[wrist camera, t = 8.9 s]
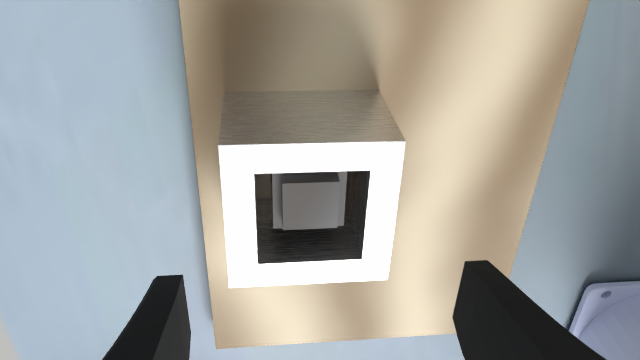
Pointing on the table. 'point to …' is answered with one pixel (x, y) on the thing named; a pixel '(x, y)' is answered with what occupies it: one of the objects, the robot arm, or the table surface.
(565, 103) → the table surface
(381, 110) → the steel collar
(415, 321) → the post board
